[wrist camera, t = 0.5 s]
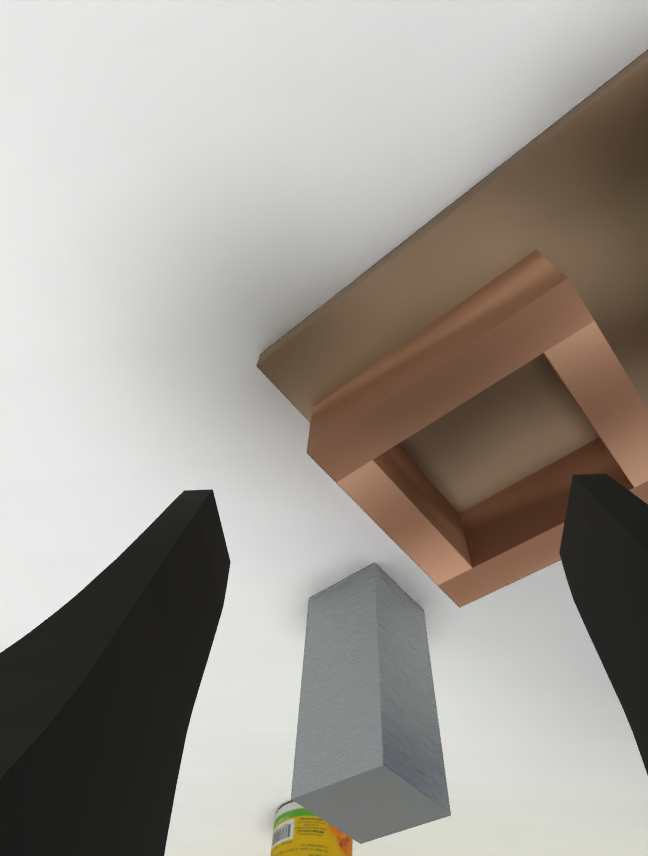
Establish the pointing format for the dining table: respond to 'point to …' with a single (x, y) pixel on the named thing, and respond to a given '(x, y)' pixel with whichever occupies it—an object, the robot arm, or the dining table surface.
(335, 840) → the supplement bottle
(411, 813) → the steel peg
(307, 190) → the dining table surface
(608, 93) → the socket station
